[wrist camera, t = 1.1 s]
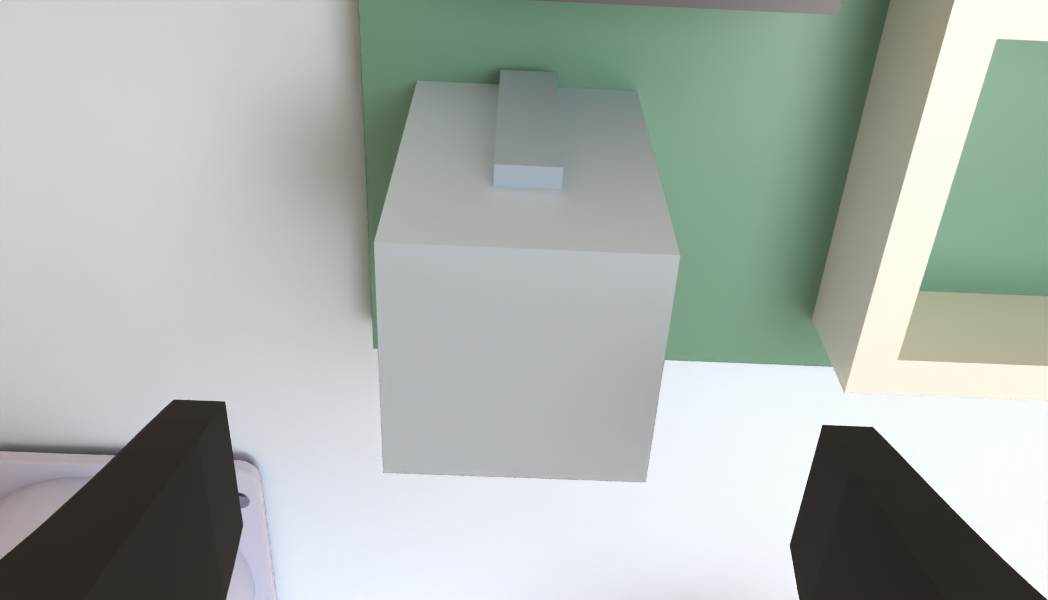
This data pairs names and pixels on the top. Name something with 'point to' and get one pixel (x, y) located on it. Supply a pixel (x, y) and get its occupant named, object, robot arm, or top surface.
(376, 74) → the board
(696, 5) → the block
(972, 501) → the top surface
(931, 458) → the top surface
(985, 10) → the frame
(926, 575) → the robot arm
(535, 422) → the plug
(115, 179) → the top surface
